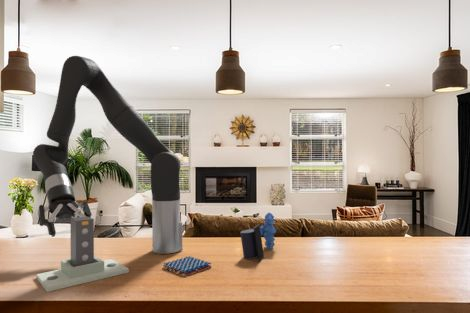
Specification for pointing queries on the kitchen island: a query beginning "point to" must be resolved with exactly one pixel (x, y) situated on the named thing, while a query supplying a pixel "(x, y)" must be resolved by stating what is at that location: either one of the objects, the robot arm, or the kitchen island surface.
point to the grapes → (268, 230)
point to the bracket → (80, 273)
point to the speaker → (252, 243)
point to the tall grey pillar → (82, 241)
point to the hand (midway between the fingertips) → (69, 232)
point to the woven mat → (186, 265)
